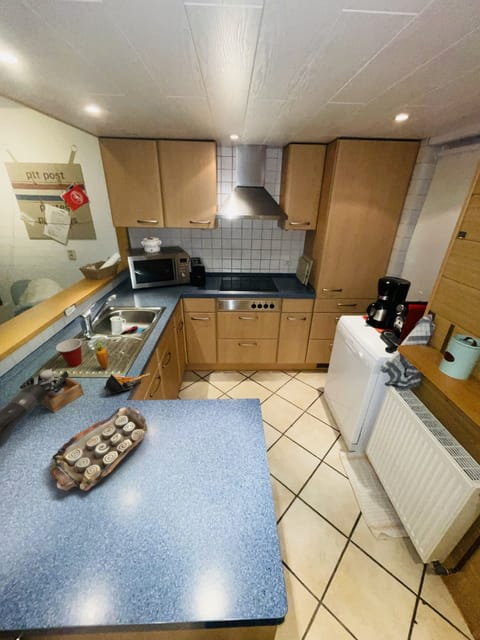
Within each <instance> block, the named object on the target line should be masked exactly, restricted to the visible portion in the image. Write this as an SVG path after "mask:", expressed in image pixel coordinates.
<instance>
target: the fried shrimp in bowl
mask: <svg viewBox="0 0 480 640" xmlns="http://www.w3.org/2000/svg"><path fill="white" fill-rule="evenodd" d="M149 376H151V372H146V373H144V374H142V375H140V376H137V377H134V375H132V376H121V377H120V375H113V374H112V373H111V374H110V376H109V377H108V378H107V380H106V382H105V385H104V390H105V391H106V392H107V393H108V394H109V395H112V394H118V393H120V392H122V391H127V390H130V389H133V386H134V385H136V382H137V381H138V380H141V379H144V378H147V377H149Z"/></svg>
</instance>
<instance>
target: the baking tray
mask: <svg viewBox="0 0 480 640" xmlns="http://www.w3.org/2000/svg"><path fill="white" fill-rule="evenodd" d="M148 431H149V429H148V426H147V422H146V418H145V417H144V415H143V414H142V413H141V412H140V410H138V409H137V408H132V407H131V406H129V407H119V408H117V410H115V411H114V413H112V414H111V415H110V416H109V417H107V418H104V419H103V420H101V421H98V422H96V423H94V424H92V425H90V426H89V427H87V428H86V429H84V430H82V431H80V432H79V433H77V434H75V436H72V437H71V438H70V439H69V441H67V442H65V443H64V444H63V445H62V446H61V447H60V448H59V449H58V450H57V452H56V453H55V454H54V455H52V458H51V459H50V466H49V468H50V474H51V477H53V478H54V479H55V480H57V483H56V487H57V488H58V489H61V490H64V491H66V492H67V491H68V490H70V489H72V488H74V487H77V488H79V489H80V490H82V491H85V492H86V491H88V490H90V489H92V487H94V486H96V485H97V484H98V483H100V481H102V480H103V478H104V477H105V476H108V474H109V473H112V471H113V470H114V468H115V467H116V466H117V465H118V464H119V463H120V462H121V460H122V459H124V458H125V456H127V455H128V453H129V452H130V451H131V450H133V449H134V448H135V447H136V446H137V445H138V444H139V442H141V441H142V440H143V438H144V437H145V436H146V434H147V433H148Z"/></svg>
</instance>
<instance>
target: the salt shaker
mask: <svg viewBox="0 0 480 640" xmlns="http://www.w3.org/2000/svg"><path fill="white" fill-rule="evenodd" d="M39 375H40V377H41V379H43V380H42V381H49V380H51V379H56V378H55V377H54V371H53V370H52V369H45V370H42V371H41V372H40V373H39ZM56 383H58V382H57V381H56ZM51 384H52V386H53V385H54V383H53V382H51ZM63 392H64V389H63V388H62V389H61V390H60V391H59V392H57V393H55V391H50V392H48V393H47V396H48V397H49V398H50V399H53V398H55V397H56V396H58V395H60V394H62V393H63Z"/></svg>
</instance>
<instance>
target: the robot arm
mask: <svg viewBox="0 0 480 640" xmlns="http://www.w3.org/2000/svg"><path fill="white" fill-rule="evenodd" d="M67 377H68V378H69V372H68V371H63V373H61V375H59V377H56V378H55V379H51V380H49V381H44V380H43V379H41V377H40V374H39V375H37V376H35V377H29V378H28V379H26V380H25V381H24V382H23V383H21V385H19V389H20V391H19V392H18V393H17V394H16V395H14V396H13V397H11V399H10V400H8V402H7V403H6V404H5V405H3V407H1V408H0V449H2V448H3V447H4V446H5V445H6V444H7V442H8V441H9V438H10V437H11V435H12V434H13V432H14V430H15V429H16V427H17V425H18V424H20V423H21V422H22V421H23V420H24V419H25V418H26V417H27V416H28V415H30V414H31V413H32V412H33V411H34V410H35V409H36V408H37V407H38V406H39V405H40V404H41V402H42V401H43V400H44V399H45V397H46V395H47V393H48V392H50V391H55V393H57V392H59V391H60V390H61V389H62V388H63V387H64V386H65V385H66V384H67V381H66V378H67ZM58 380H59V382H58V383H56V381H58ZM51 382H53V383H54V385H53V386H52V384H51Z"/></svg>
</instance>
